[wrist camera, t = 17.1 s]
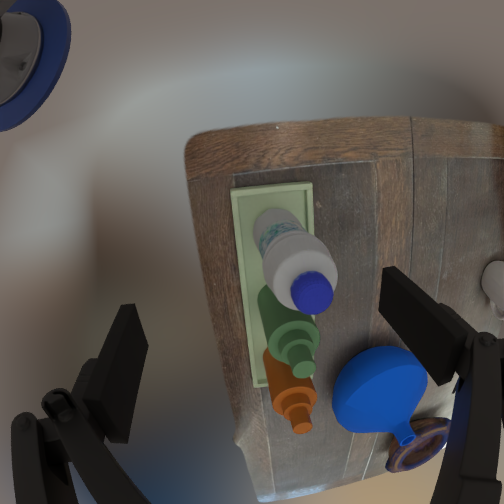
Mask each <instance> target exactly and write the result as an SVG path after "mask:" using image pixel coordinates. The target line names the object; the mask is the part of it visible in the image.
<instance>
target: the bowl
mask: <svg viewBox="0 0 504 504" xmlns="http://www.w3.org/2000/svg"><path fill="white" fill-rule="evenodd" d="M409 424H410V426H411V428H412V430H413V432H414V433H415V435H416V438H415V439H414V440H413V441H412V442H411V443H410V444H408V445H405V446H400V445H399V443H398V441H397V439H396V437H395V436H394V438H393V440H392V442H391V444H390V447H389V458H388V460H387V463H386V466H385V468H386V469H387V470H388V471H389V472H391V473H396V472H401V471H408V470H411V469H414V468H416V467H418V466H420V465H422V464H424V463H425V462H427V461H428V460H430V459H431V458H432V457H434V456H435V455H436V454H437V453H438V452H439V451H440V450H441V449H442V448H443V447H444V445H445V444H446V442H447V440H448V435H449V430H450V425H451V420H450V419H448V418H443V417H434V418H426V419H421V420H416V421H413V422H410V423H409Z"/></svg>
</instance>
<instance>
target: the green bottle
mask: <svg viewBox="0 0 504 504" xmlns="http://www.w3.org/2000/svg"><path fill="white" fill-rule="evenodd" d="M257 304H258V308H259V312H260V316H261V320H262V325H263V329H264V333H265V337H266V341H267V345H268V349H269V352H270V354H271V355H272V356H273V357H274V358H275V359H277V360H279V361H281V362H284V363H286V364H288V365H290V366H291V370H292V373H293V375H294V376H295V377H297V378H307V377H309V376H311V375H312V374H313V373H314V372H315V370H316V365H315V362H314V360H313V356H314V353H315V350H316V349H317V347H318V345H319V342H320V333H319V330H318V328H317V326H316V324H315V322H314V320H313V318H312V316H311V315H307V314H304V313H302V312H301V311H298V310H293V309H290V308H288V307H286V306H284V305H283V304H281V303H280V302H279V301H278V299H277V298H276V296H275V295H274V293H273V292H272V290H271V289H270V288H269V287H268V285H267V284H266V285H265V286H264V287H263V288H262V289H261V290H260V292H259V294H258V297H257Z"/></svg>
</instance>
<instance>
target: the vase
mask: <svg viewBox="0 0 504 504" xmlns="http://www.w3.org/2000/svg"><path fill="white" fill-rule="evenodd" d="M427 383H428V380H427V372H426V370H425V368H424V367H423V366H422V364H421V363H420V362H419V361H418V359H417V358H416V357H415V355H414V354H413V353H412V352H410V351H407V350H404V349H402V348H399V347H395V346H378V347H373V348H370V349H367V350H365V351H363V352H361V353H359V354H357V355H356V356H355V357H353V358H352V359H351V360H350V361H349V362H348V363H347V364H346V365H345V366H344V367H343V369H342V370H341V372H340V374H339V376H338V377H337V380H336V382H335V385H334V390H333V398H332V408H333V411H334V414H335V416H336V419H337V421H338V422H339V423H340V424H341V425H342V426H343V427H344V428H346V429H347V430H348V431H351V432H355V433H370V432H390V433H393V434H394V435H395V437H396V439H397V441H398V443H399V445H400V446H405V445H408V444H410V443H411V442H412V441H413V440H414V439H415V438H416V435H415V433H414V432H413V430H412V428H411V426H410V424H409V422H410V418H411V416H412V414H413V412H414V410H415V408H416V406H417V405H418V403H419V401H420V399H421V398H422V396H423V394H424V392H425V390H426V387H427Z"/></svg>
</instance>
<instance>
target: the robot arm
mask: <svg viewBox="0 0 504 504" xmlns="http://www.w3.org/2000/svg"><path fill="white" fill-rule="evenodd" d="M16 1H17V0H0V106H3V105H5V104H7V103H9V102H10V101H12V100H13V99H14V98H16V97H17V96H18V95H19V94H20V93H21V92H22V91H23V89H24V88H25V87H26V86H27V84H28V83H29V81H30V80H31V78H32V77H33V75H34V73H35V71H36V69H37V67H38V64H39V62H40V59H41V56H42V52H43V47H44V32H43V28H42V25H41V23H40V22H39V20H38V19H37V18H35V17H34V16H32V15H30V14H28V13H25V12H11V13H9V12H6V11H7V10H8V9H9V8H10V7H11V6H12V5H13V4H14V3H15V2H16ZM378 311H379V312H380V313H381V315H382V316H383V317H384V318H385V319H386V321H387V322H388V323H389V324H390V326H391V327H392V328H393V329H394V330H395V332H396V333H397V334H398V335H399V337H400V338H401V339H402V340H403V342H404V343H405V344H406V345H407V347H408V348H409V349H410V350H411V352H412V353H413V354H414V355H415V357H416V358H417V359H418V361H419V362H420V363H421V364H422V366H423V367H424V368H425V370H426V371H427V372H428V373H429V375H430V376H431V377H432V379H433V380H434V381H435V383H436V384H437V385H438V386H441V385H443V384H446V383H448V382H450V381H451V380H452V378H453V375H454V373H455V371H456V373H457V374H458V375H459V378H458V380H457V383H456V385H455V387H454V390H453V392H452V393H453V394H454V393H455V391H456V394H455V401H454V407H453V414H452V419H451V425H450V430H449V435H448V440H447V444H446V450H445V453H444V457H443V461H442V465H441V469H440V473H439V476H438V480H437V483H436V486H435V490H434V493H433V496H432V499H431V502H430V504H499V502H500V496H501V491H502V483H501V481H498V480H497V479H496V473H497V466H498V457H499V449H500V435H501V418H502V422H503V428H504V339H497V338H496V337H495V336H494V335H492V334H491V333H488V332H479V333H478V332H477V331H476V330H475V329H474V328H472V327H471V326H470V325H469V324H468V323H467V322H466V321H465V320H464V319H463V318H462V319H461V317H460V316H459V315H458V314H456V312H455V311H454V310H453V309H452V308H450V307H449V306H447V305H445V304H443V303H439V304H438V303H437V302H435V301H434V300H433V299H432V298H431V297H430V296H429V295H428V294H426V293H425V292H424V291H423V290H422V289H421V288H420V287H418V286H417V285H416V284H415V283H414V282H413V281H412V280H410V279H409V278H408V277H407V276H406V275H405V274H403V273H402V272H401V271H400V270H399V269H397V268H396V267H395V266H391V267H386V268H383V271H382V282H381V292H380V301H379V309H378ZM147 350H148V343H147V340H146V337H145V334H144V331H143V328H142V325H141V322H140V319H139V316H138V313H137V309H136V306H135V304H126V305H121V306H120V309H119V311H118V313H117V315H116V317H115V319H114V322H113V324H112V326H111V328H110V331H109V333H108V335H107V338H106V340H105V342H104V345H103V347H102V349H101V352H100V354H99V356H98V358H94V359H93V358H91V359H89V360H88V361H87V362H86V363H85V364H84V365H83V366H82V368H81V371H80V373H79V376H78V377H77V380H76V382H75V384H74V387H73V389H72V392H71V394H70V393H69V392H68V391H67V390H66V389H63V388H58V389H54V390H51V391H50V392H48V393H47V394H46V395H45V396H44V398H43V399H42V402H41V405H42V408H43V410H44V411H45V413H46V414H47V415H48V417H49V418H44V419H38V420H37V418H36V417H35V416H34V415H33V414H32V413H29V412H23V413H21V414H19V415H17V416H16V417H15V418H14V420H13V421H12V425H11V452H12V469H13V480H14V490H15V498H16V504H79V503H78V500H77V496H76V493H75V489H74V485H73V482H72V477H71V473H70V469H69V465H68V462H73V464H74V466H75V468H76V470H77V471H78V473H79V475H80V477H81V478H82V480H83V482H84V483H85V485H86V487H87V488H88V490H89V492H90V493H91V495H92V496H93V498H94V499H95V501H96V502H97V504H151V503H150V502H149V501H148V499H147V498H146V497H145V496H144V495H143V494H142V492H141V491H140V490H139V489H138V488H137V486H136V485H135V484H134V483H133V482H132V480H131V479H130V478H129V476H128V475H127V474H126V473H125V471H124V470H123V469H122V468H121V466H120V465H119V463H118V462H117V461H116V459H115V458H114V457H113V456H112V454H111V453H110V451H109V450H108V448H107V447H106V446H105V445H104V443H103V442H104V438H105V435H106V437H107V438H108V440H109V441H110V442H111V443H124V444H127V443H128V439H129V434H130V428H131V423H132V418H133V413H134V408H135V403H136V398H137V394H138V389H139V385H140V380H141V376H142V371H143V367H144V362H145V358H146V354H147Z"/></svg>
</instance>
